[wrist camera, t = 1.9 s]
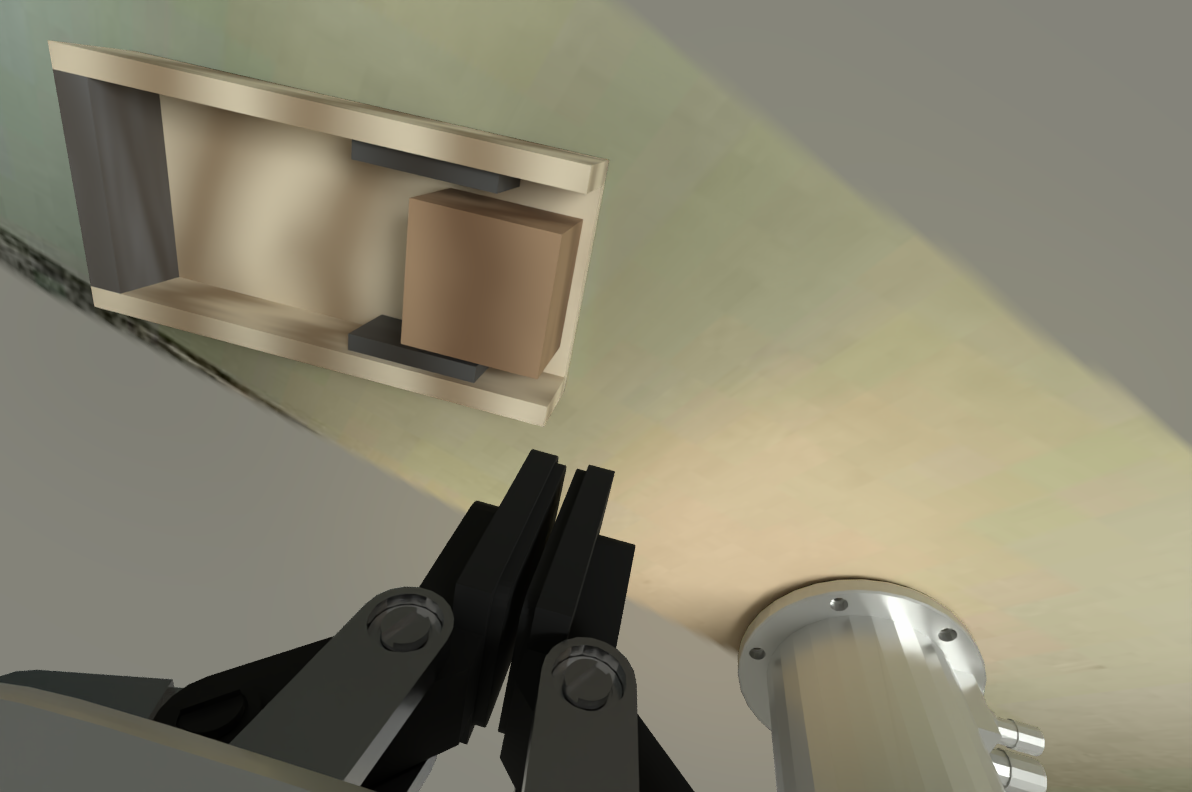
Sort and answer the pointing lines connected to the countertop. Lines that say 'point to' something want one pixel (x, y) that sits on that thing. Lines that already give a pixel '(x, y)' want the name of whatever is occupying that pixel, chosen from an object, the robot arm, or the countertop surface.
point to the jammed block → (487, 279)
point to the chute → (292, 216)
